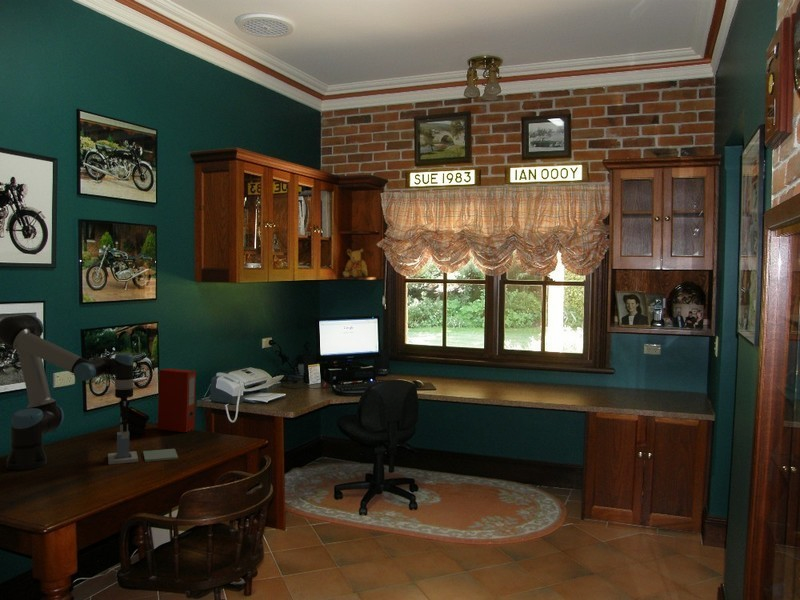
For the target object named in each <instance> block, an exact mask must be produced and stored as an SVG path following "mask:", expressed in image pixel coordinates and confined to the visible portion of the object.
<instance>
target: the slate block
mask: <svg viewBox="0 0 800 600" xmlns="http://www.w3.org/2000/svg"><path fill="white" fill-rule="evenodd" d="M129 435H130V434H129V431H128V439H121V432H120V431H117V432H116V453H117V458H116V459H120V458H130V457H129V452H130V437H129Z"/></svg>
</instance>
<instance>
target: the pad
mask: <svg viewBox="0 0 800 600" xmlns="http://www.w3.org/2000/svg"><path fill="white" fill-rule="evenodd" d="M142 455H143V458H144V462H145V463H149V462H159V461H160V462H161V461H170V460H179V456H178V453H177V451H176V449H175V448H165V449H155V450H154V449H152V450H143V451H142Z"/></svg>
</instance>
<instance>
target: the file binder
mask: <svg viewBox="0 0 800 600" xmlns="http://www.w3.org/2000/svg"><path fill="white" fill-rule="evenodd" d="M196 382H197V371H196V370H189V369H178V368H168V367H167V368H163V369H159V370H158V403H157V404H158V405H157V429H158V430H162V431H169V430H170V431H169V432H177V431H178V433H185V432H187V433H189V432H191V431H190V430H192V431H194V430H195V423H196V421H195V420H196V419H195V418H196V415H195V414H196V385H197V383H196ZM188 431H189V432H188Z"/></svg>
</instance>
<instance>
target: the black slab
mask: <svg viewBox="0 0 800 600" xmlns="http://www.w3.org/2000/svg"><path fill="white" fill-rule="evenodd" d="M149 420H150V416H149V415H148V414H146V413H144V412H142V411H140V410H138V409H136V408H135V407H133V406H129V410H128V431H129V434H130V435H129V438H144V437H145V434H146V431H145V428H146V427H147V422H148V421H149Z"/></svg>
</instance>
